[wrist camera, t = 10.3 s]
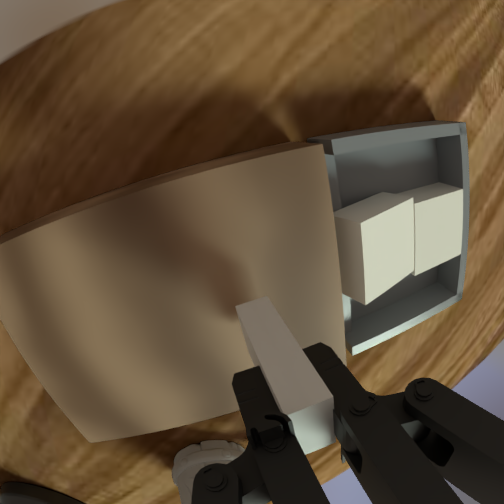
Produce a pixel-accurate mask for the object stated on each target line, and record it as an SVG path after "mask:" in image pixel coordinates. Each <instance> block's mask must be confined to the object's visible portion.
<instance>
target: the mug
mask: <svg viewBox="0 0 504 504" xmlns="http://www.w3.org/2000/svg"><path fill="white" fill-rule="evenodd" d="M244 451H245V449H244V448H243V447H242V446H240V445H239V444H237V445H236V443H234V442H230V443H228V442H227V441H225V440H208V441H202V442H201V444H199V445H197V444H192V445H190V446H187V447H186V448H184V449H182V450H180V451H179V452H178V453H177V454H176V456H175V458H174V466H173V468H172V478H173V481H174V484H175V485H176V486H177V487H178V489H179V494H180V499H181V503H182V504H191V499H192V488H193V481H194V478H195V475H196V474H197V473H198V471H199V470H200V469H201V468H203V467H205V466H207V465H209V464H214V463H221V464H228V463H229V462H231V461H233V460H234V459H236V458H237V457H239V456H240V455H241V454H242V453H243V452H244Z"/></svg>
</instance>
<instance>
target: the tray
mask: <svg viewBox="0 0 504 504" xmlns="http://www.w3.org/2000/svg"><path fill="white" fill-rule="evenodd" d="M307 143H318V144H323V149H324V154H325V160H326V166H327V173H328V179H329V186H330V192H331V199H332V207H333V212H335V211H338V210H340V209H342V208H345V207H347V206H349V205H352V204H354V203H357V202H359V201H361V200H364V199H366V198H369V197H371V196H373V195H376V194H378V193H381V192H386V193H392V194H397V193H401V192H405V191H408V190H412V189H416V188H419V187H423V186H427V185H430V184H434V183H438V182H440V183H444V184H447V185H451V186H455V187H458V188H462V189H463V229H462V247H461V254H460V255H458V256H456V257H454V258H452V259H450V260H448V261H446V262H444V263H441V264H439V265H437V266H435V267H433V268H431V269H429V270H427V271H424V272H422V273H420V274H418V275H416V276H414V275H413V274H411V273H410V274H409V275H407V276H406V277H405V278H403V279H402V280H401V281H399V282H398V283H396V284H395V285H394V286H392V287H391V288H390V289H388V290H387V291H385V292H384V293H383V294H381V295H380V296H378V297H377V298H375V299H374V300H373V301H371V302H370V303H368V304H367V305H364V304H362V303H360V302H358V301H356V300H354V299H352V298H350V297H348V296H346V295H344V294H342V300H343V313H344V328H345V347H346V348H347V350H348V351H349V352H350V353H351V354H352V356H353V355H355V354H357V353H360V352H362V351H364V350H366V349H368V348H370V347H373V346H375V345H377V344H379V343H381V342H383V341H385V340H387V339H389V338H391V337H393V336H395V335H397V334H399V333H401V332H403V331H405V330H407V329H409V328H411V327H413V326H415V325H417V324H418V323H420V322H422V321H424V320H426V319H428V318H430V317H431V316H433V315H435V314H437V313H439V312H440V311H442V310H444V309H446V308H447V307H449V306H451V305H452V304H454V303H456V302H458V301H459V300H461V299H462V293H463V285H464V277H465V269H466V259H467V247H468V231H469V159H468V144H467V132H466V122H453V121H437V120H435V121H424V122H414V123H405V124H396V125H388V126H380V127H373V128H366V129H359V130H353V131H346V132H340V133H334V134H328V135H323V136H317V137H312V138H307Z"/></svg>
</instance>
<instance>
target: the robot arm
mask: <svg viewBox="0 0 504 504" xmlns="http://www.w3.org/2000/svg"><path fill="white" fill-rule="evenodd" d="M235 308H236V311H237V315H238V318H239V321H240V325H241V328H242V332H243V335H244V338H245V342H246V345H247V349H248V352H249V354H250V357H251V359H252V361H253V364H254V366H255V367H253V368H250V369H247V370H244V371H240V372H237V373H234V376H233V380H232V387H233V390H234V393H235V396H236V399H237V402H238V406H239V409H240V412H241V415H242V418H243V421H244V423H245V426H246V434H247V438H248V440H249V441H248V445H247V448H246V449H245V451H244V452H243V453H242V454H241V455H240V456H239V457H237V458H236V459H234V460H233V461H231V462H229V463H228V464H221V463H214V464H209V465H207V466H205V467H203V468H201V469H200V470H199V471H198V473H197V474H196V475H195V478H194V481H193V488H192V499H191V504H267V503H268V502H270V501H271V500H272V503H273V504H330V502H329V501H328V499H327V497H326V495H325V493H324V491H323V489H322V487H321V485H320V483H319V481H318V479H317V477H316V475H315V474H314V472H313V470H312V468H311V466H310V464H309V462H308V460H307V458H306V456H305V455H306V454H308V453H311V452H313V451H316V450H318V449H321V448H323V447H325V446H328V445H330V444H332V443H335V442H336V438H335V435H336V437H337V439H338V440H339V442H340V444H341V460H342V463H344V462H345V459H346V461H347V462H348V464H349V466H350V467H351V469H352V471H353V472H354V474H355V476H356V477H357V479H358V481H359V482H360V484H361V485H362V487H363V489H364V490H365V492H366V493H367V495H368V497H369V499H370V500H371V502H372V504H463V502H462V501H461V500H460V498H459V497H458V496H457V495H456V493H455V492H454V491H453V490H452V488H451V487H450V486H449V485H448V483H447V482H446V481H445V479H446V480H447V481H449V482H450V483H451V484H453V485H454V486H456V487H457V488H459V489H460V490H461V491H463V492H464V493H466V494H467V495H469V496H470V497H472V498H473V499H474V500H476V501H477V502H479V503H480V504H504V421H503V420H501V419H500V418H498V417H496V416H495V415H493V414H491V413H489V412H488V411H486V410H484V409H483V408H481V407H479V406H478V405H476V404H474V403H473V402H471V401H469V400H468V399H466V398H464V397H463V396H461V395H459V394H457V393H456V392H454V391H453V390H451V389H449V388H448V387H446V386H444V385H443V384H441V383H439V382H438V381H436V380H433V379H431V378H419V379H415V380H413V381H412V382H410V383H409V384H408V386H407V387H406V389H405V392H400V393H396V394H392V395H386V396H379V395H375V394H374V393H371V392H368V391H366V390H365V389H364V388H363V387H362V386H361V385H360V384H359V382H358V381H357V380H356V378H355V377H354V376H353V375H352V373H351V372H350V371H349V370H348V368H347V367H346V366H345V364H343V362H342V361H341V359H340V358H338V356H337V354H336V353H335V352H334V350H333V349H332V348H331V347H329V346H327V345H325V344H324V343H322V342H319V343H316V344H314V345H311V346H309V347H306V348H304V349H302V348H301V347H300V345H299V344H298V342H297V341H296V339H295V338H294V336H293V335H292V333H291V332H290V330H289V329H288V327H287V326H286V324H285V323H284V321H283V320H282V318H281V316H280V315H279V313H278V312H277V310H276V309H275V307H274V306H273V304H272V303H271V301H270V300H269V298H268V297H267V296H265V297H262V298H259V299H256V300H253V301H249V302H246V303H243V304H240V305H237V306H235ZM0 504H83V503H81V502H79V501H77V500H74V499H72V498H70V497H67V496H65V495H62V494H59V493H57V492H54V491H51V490H48V489H45V488H41V487H38V486H34V485H30V484H25V483H19V482H7V483H4V484H3V485H2V486H1V490H0Z"/></svg>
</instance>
